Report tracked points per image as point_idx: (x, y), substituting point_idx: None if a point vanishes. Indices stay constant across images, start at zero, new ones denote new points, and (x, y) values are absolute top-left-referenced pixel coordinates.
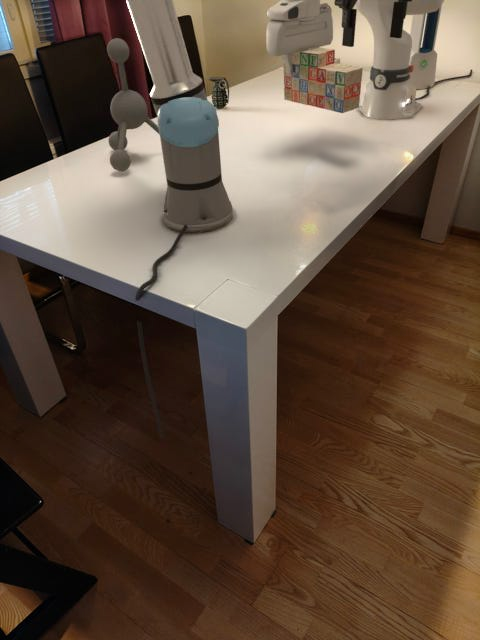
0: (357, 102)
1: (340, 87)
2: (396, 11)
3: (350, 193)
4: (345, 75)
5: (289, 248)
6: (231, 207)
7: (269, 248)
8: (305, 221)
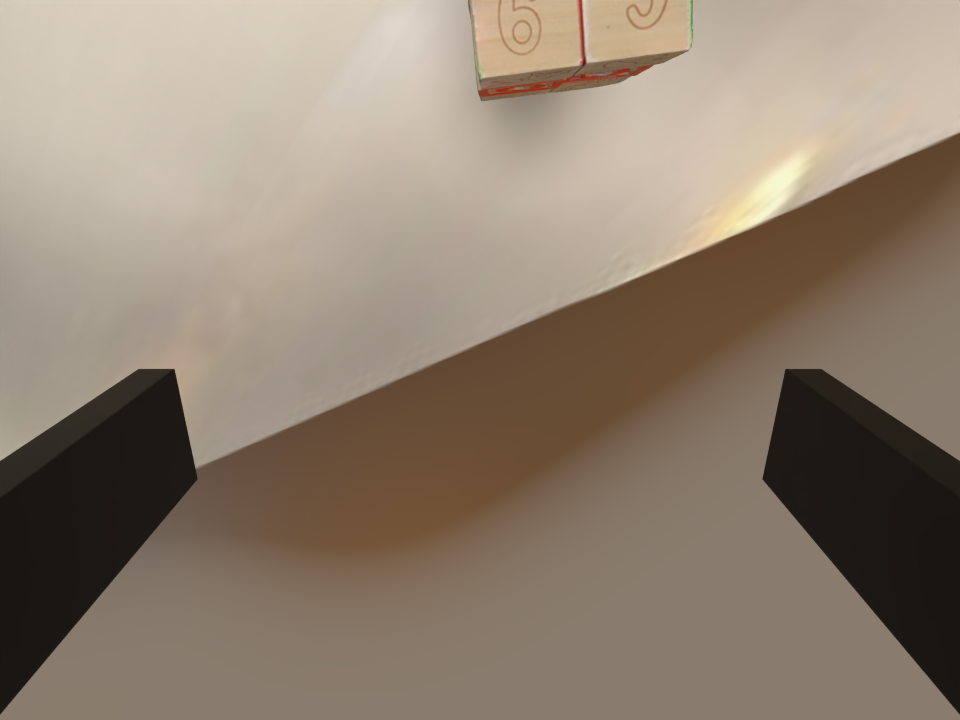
0: (606, 82)
1: (474, 49)
2: (949, 570)
3: (369, 317)
4: (481, 80)
5: None
6: None
7: (11, 434)
8: None
